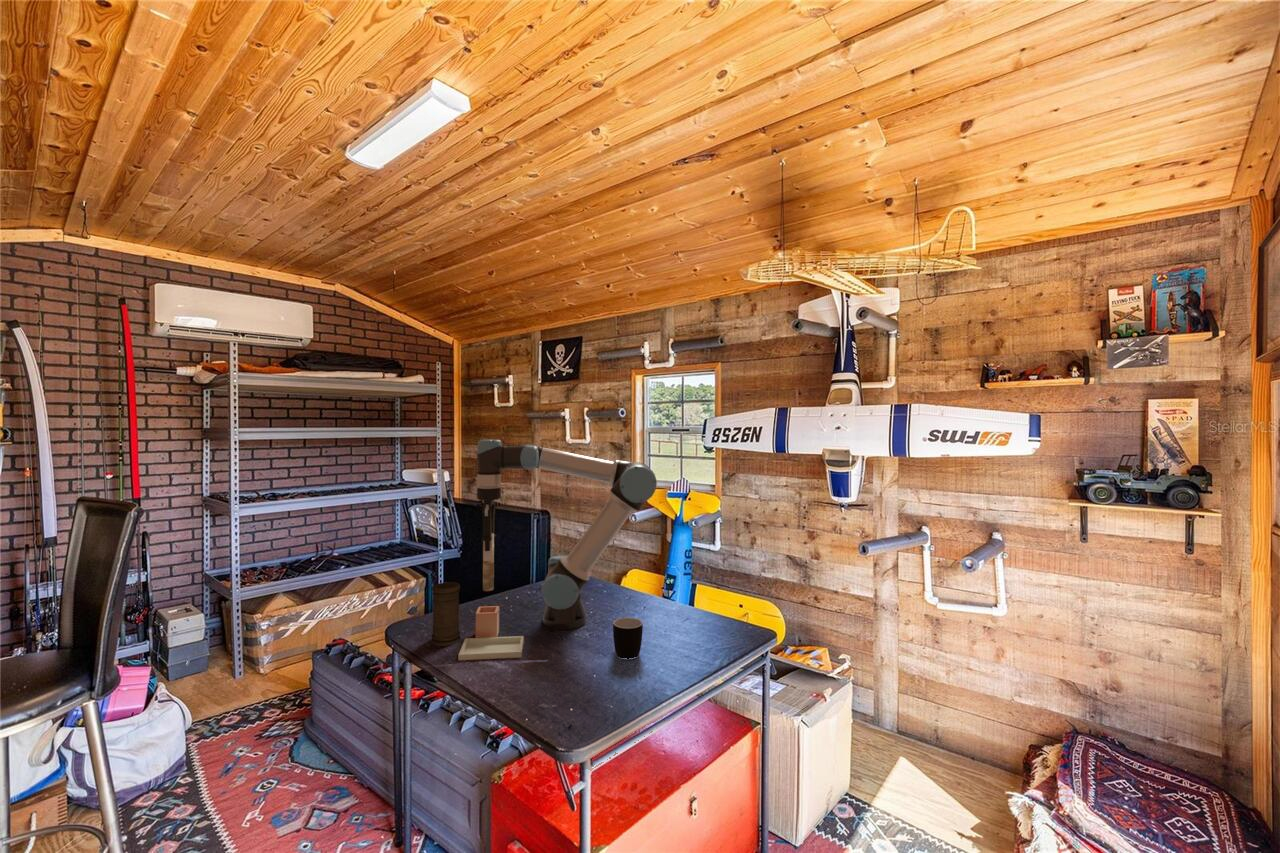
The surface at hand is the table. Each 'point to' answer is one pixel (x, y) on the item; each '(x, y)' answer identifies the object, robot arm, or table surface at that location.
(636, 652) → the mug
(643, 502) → the robot arm
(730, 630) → the table surface
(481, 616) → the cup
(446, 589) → the container
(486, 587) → the dowel
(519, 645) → the tray
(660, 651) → the table surface
